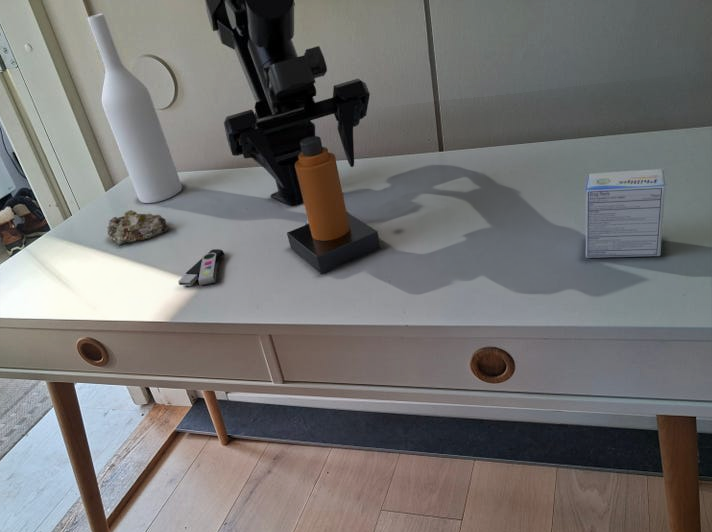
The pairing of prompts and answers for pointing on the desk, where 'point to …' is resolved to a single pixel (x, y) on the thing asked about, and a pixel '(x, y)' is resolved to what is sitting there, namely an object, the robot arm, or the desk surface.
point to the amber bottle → (321, 191)
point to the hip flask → (334, 245)
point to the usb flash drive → (203, 269)
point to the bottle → (134, 123)
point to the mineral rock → (135, 227)
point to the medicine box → (624, 213)
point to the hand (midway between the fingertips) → (318, 175)
